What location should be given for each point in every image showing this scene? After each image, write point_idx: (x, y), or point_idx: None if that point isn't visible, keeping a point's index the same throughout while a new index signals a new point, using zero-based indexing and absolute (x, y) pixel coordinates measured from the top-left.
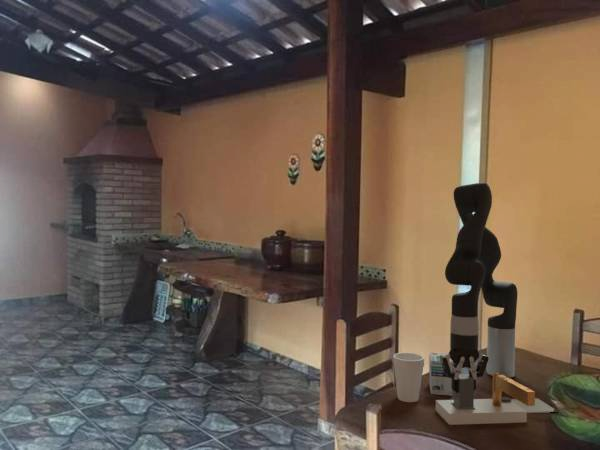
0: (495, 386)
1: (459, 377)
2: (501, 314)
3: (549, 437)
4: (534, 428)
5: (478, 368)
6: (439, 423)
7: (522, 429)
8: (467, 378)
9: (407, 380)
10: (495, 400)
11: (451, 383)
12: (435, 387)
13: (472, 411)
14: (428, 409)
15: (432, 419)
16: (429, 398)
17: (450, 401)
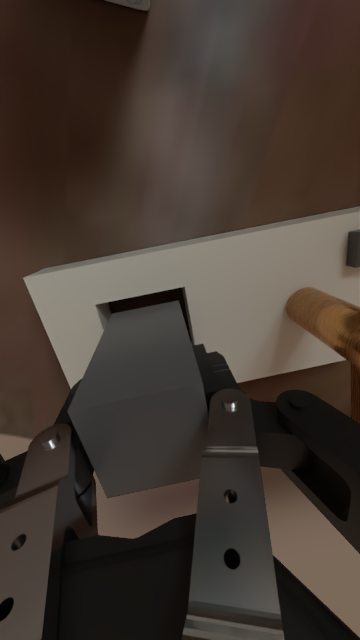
0: (353, 365)
1: (108, 470)
2: None
3: (350, 417)
4: (347, 372)
5: (331, 452)
6: (59, 383)
7: (308, 384)
8: (170, 478)
9: None
10: (304, 328)
11: (63, 406)
12: None
13: None
14: (12, 258)
15: (34, 356)
16: (7, 79)
17: (99, 286)
